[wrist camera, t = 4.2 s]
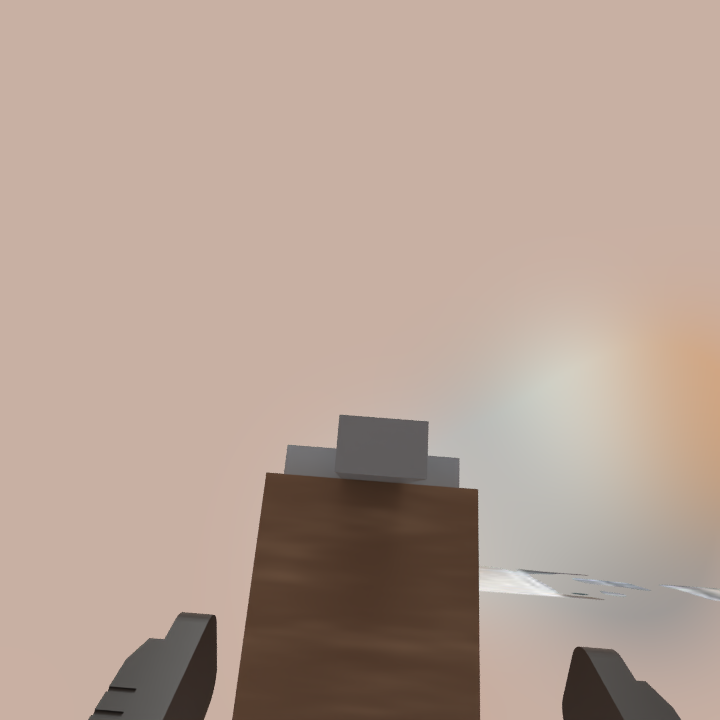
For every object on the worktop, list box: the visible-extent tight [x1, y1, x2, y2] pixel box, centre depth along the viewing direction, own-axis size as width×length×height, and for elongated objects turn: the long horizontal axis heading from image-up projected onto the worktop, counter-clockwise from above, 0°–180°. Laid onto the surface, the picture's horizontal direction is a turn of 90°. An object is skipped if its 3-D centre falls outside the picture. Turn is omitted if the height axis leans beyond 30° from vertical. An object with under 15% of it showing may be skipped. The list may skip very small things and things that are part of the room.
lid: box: [284, 415, 459, 488], centre depth 29 cm, size 23×12×2 cm, turn 1°
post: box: [232, 473, 480, 720], centre depth 30 cm, size 14×14×30 cm
